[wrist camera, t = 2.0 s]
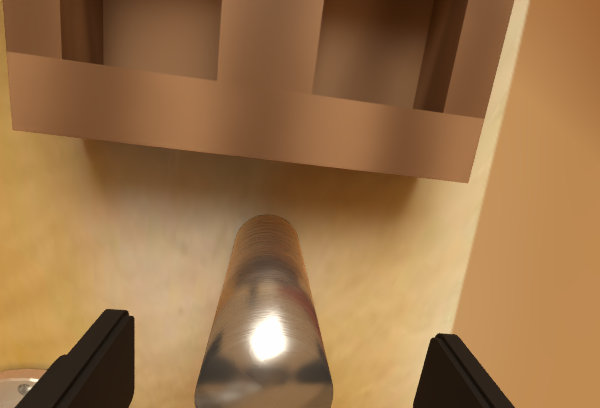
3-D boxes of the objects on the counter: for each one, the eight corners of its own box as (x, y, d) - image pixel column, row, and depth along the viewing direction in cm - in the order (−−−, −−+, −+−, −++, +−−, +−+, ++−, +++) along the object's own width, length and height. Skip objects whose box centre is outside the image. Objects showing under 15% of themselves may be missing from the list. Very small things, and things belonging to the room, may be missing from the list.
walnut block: (470, -55, 18) (543, -117, 13) (422, 167, 21) (468, 183, 16) (71, -137, 16) (-17, -248, 11) (78, 126, 19) (12, 130, 14)
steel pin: (294, 276, 22) (322, 453, 11) (232, 271, 22) (191, 451, 10) (302, 218, 21) (343, 342, 10) (237, 211, 21) (198, 334, 9)
